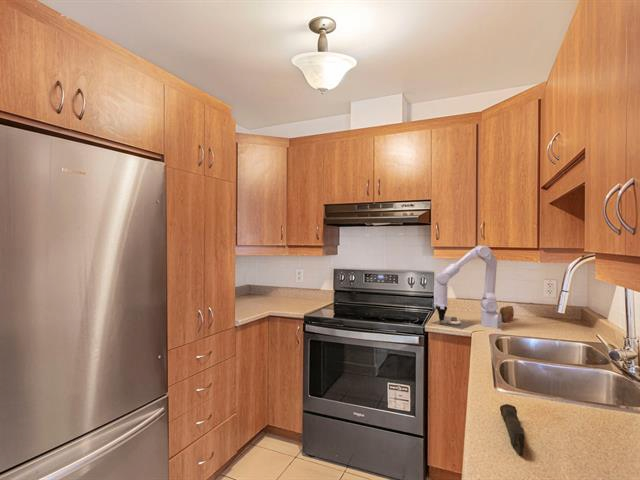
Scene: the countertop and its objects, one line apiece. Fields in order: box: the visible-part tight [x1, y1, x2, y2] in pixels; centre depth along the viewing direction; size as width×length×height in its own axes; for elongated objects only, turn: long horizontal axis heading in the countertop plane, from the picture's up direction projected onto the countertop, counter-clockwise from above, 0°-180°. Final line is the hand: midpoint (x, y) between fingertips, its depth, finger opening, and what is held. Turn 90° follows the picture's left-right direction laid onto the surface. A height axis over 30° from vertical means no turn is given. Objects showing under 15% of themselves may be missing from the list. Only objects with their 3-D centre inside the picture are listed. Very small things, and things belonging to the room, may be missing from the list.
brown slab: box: [498, 305, 515, 323], centre depth 215 cm, size 15×3×8 cm, turn 132°
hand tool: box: [499, 403, 526, 456], centre depth 90 cm, size 19×4×5 cm, turn 158°
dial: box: [438, 315, 462, 325], centre depth 202 cm, size 11×7×3 cm, turn 74°
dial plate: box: [431, 319, 477, 330], centre depth 202 cm, size 18×18×1 cm
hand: (441, 320), depth 201 cm, fingers closed
